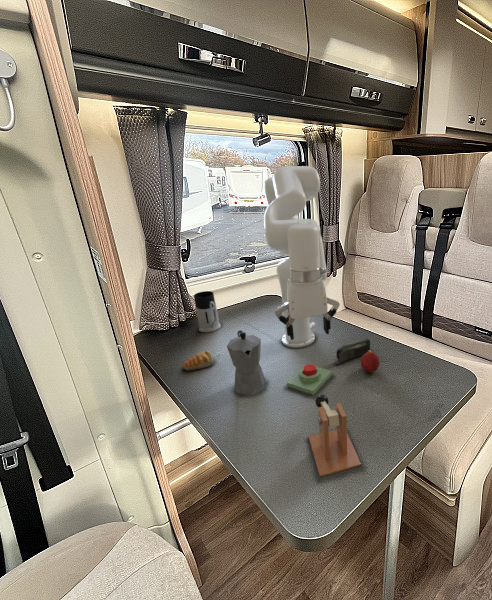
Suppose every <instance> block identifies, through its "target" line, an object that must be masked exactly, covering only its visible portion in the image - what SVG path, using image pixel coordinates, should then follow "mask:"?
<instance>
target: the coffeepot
mask: <svg viewBox="0 0 492 600" xmlns="http://www.w3.org/2000/svg"><path fill="white" fill-rule="evenodd" d="M261 341H262V339H261V338H260V337H258V336H257V335H254V334H248V335H247V333H246V332H243V331H242V330H240V329H239V330H238V331H237V337H235V338H232V339H230V340H229V342H228V343H227V345H226V348H227V351H228V354H229V357H230V359H231V362H232V365H233V366H234V367H235V371H234V392H236V393H237V394H238V395H240V394H254V393H255V392H258V391H259V390H261V389H263V388H264V387H265V384H266V383H267V381H266V378H265V374H264V372H263V369H262V365H261V364H260V360H261V344H262V342H261Z"/></svg>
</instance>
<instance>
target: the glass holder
mask: <svg viewBox="0 0 492 600" xmlns="http://www.w3.org/2000/svg"><path fill="white" fill-rule="evenodd" d="M193 299H194V303H195V304H194V305H195V306H194V307H195V311H196V316H197V321H198V331H199V332H201V333H211V332H214V331H217V330H219V329H220V328H221V326H222V325H221V323H220V320H219V314H218V309H217V304H216V300H215V294H214V292H213V291H211V290H204V291H199V292H195V294H193Z"/></svg>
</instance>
